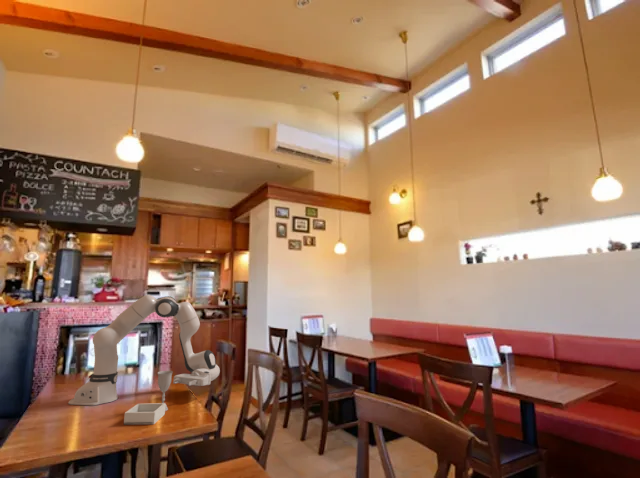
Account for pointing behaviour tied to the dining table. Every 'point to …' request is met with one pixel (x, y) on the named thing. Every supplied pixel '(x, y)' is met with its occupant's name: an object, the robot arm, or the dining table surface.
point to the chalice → (164, 383)
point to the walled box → (144, 414)
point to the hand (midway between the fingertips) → (181, 382)
